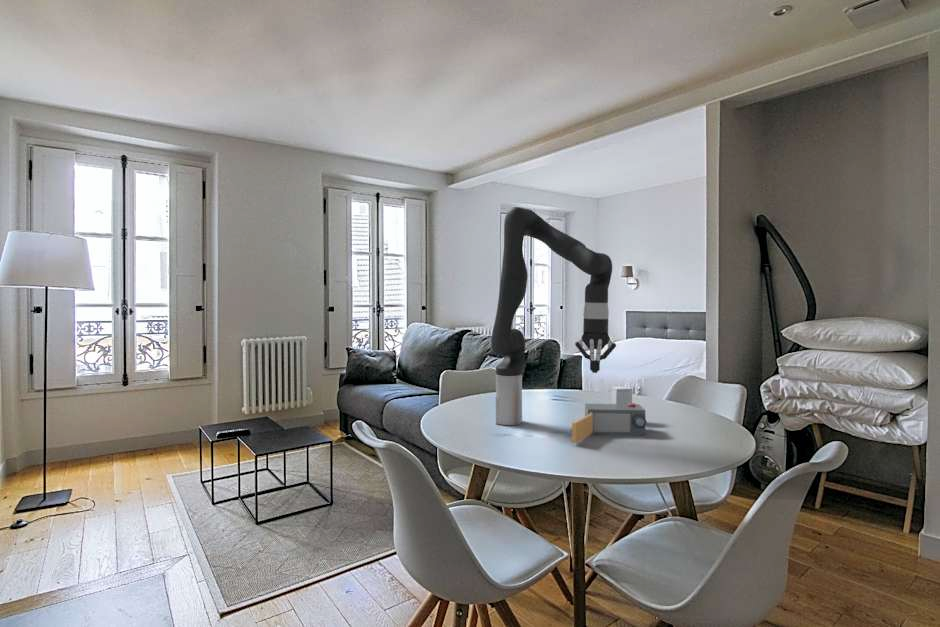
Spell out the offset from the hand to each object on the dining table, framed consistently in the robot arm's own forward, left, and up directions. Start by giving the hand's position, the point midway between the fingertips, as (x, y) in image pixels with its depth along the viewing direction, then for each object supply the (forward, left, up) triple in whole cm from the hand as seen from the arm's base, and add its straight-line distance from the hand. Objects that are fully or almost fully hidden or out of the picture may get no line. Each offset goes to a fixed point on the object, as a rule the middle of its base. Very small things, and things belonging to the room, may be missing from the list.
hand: (594, 372), depth 160 cm
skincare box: (+13, +23, -21) cm, 34 cm away
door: (-4, -2, -20) cm, 21 cm away
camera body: (+8, +10, -21) cm, 24 cm away
